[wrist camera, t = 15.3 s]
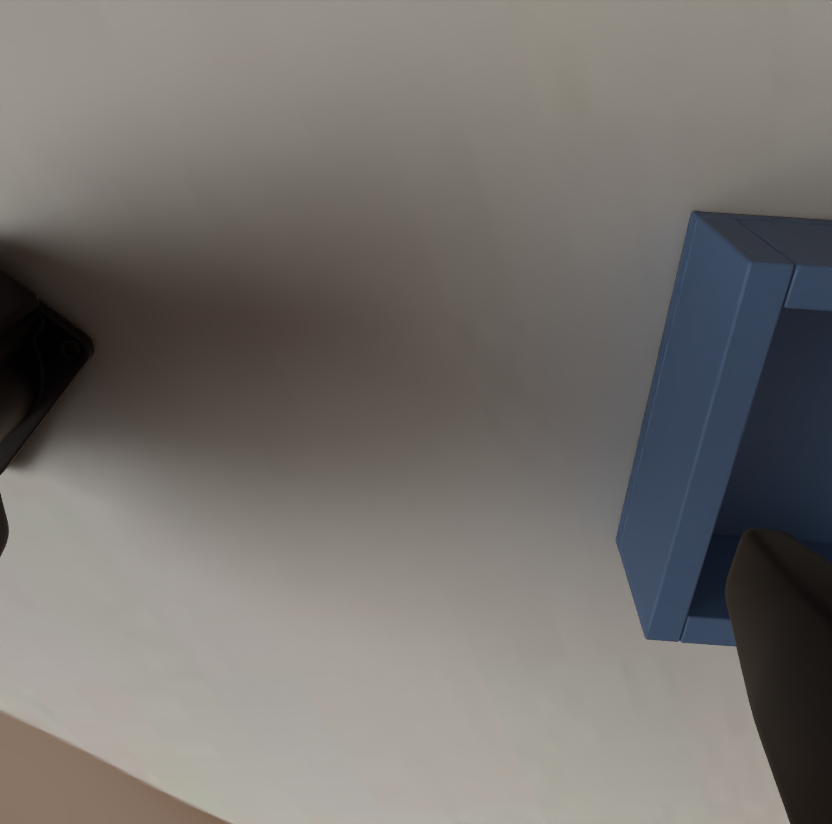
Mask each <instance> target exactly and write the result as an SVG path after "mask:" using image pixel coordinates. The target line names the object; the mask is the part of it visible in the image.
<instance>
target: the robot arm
mask: <svg viewBox="0 0 832 824" xmlns="http://www.w3.org/2000/svg"><path fill="white" fill-rule="evenodd" d="M69 343H73V344H76V345H77V346H78V347H79V348H80V352H81V353H77V352H74V351H73V350H72V349H71V348H70V345H69ZM93 353H94V344H93V342H92V340H91V338H90V337H89V336H88V335H87V334H86V333H84V332H83V331H82V330H80V329H79V328H77V327H76V326H75V325H73V324H72V323H71V322H69V321H68V320H67V319H65V318H64V317H62V316H61V315H60V314H58V313H57V312H56V311H54V310H53V309H52V308H50V307H49V306H47V305H46V304H45V303H43V302H42V301H41V300H39V299H38V298H37V296H36V295H35V294H34V293H33V292H32V291H30V290H29V289H28V288H26V287H25V286H24V285H22V284H21V283H19V282H18V281H17V280H15V279H14V278H13V277H11V276H10V275H9V274H7V273H6V272H5V271H3V270H2V269H0V475H1V474H2V473H3V472H4V471H5V470H6V469H7V468H8V467H9V465H10V464H11V463H12V461H13V460H14V459H15V457H16V456H17V455H18V453H19V452H20V451H21V449H22V448H23V447H24V445H25V444H26V443H27V441H28V440H29V439H30V437H31V436H32V435H33V434H34V432H35V431H36V430H37V428H38V427H39V426H40V424H41V423H42V422H43V420H44V419H45V418H46V416H47V415H48V414H49V412H50V411H51V410H52V408H53V407H54V406H55V405H56V403H57V402H58V401H59V399H60V398H61V397H62V395H63V394H64V393H65V391H66V390H67V389H68V387H69V386H70V385H71V383H72V382H73V381H74V379H75V378H76V377H77V375H78V374H79V373H80V372H81V370H82V369H83V368H84V366H85V365H86V364H87V362H88V361H89V360H90V358H91V357H92V356H93ZM8 534H9V527H8V521H7V517H6V514H5V510H4V506H3V502H2V498H1V494H0V556H1V554H2V552H3V550H4V548H5V546H6V543H7V540H8ZM725 597H726V603H727V608H728V612H729V616H730V621H731V625H732V629H733V634H734V638H735V642H736V647H737V651H738V655H739V660H740V664H741V668H742V673H743V677H744V682H745V686H746V690H747V695H748V699H749V703H750V706H751V710H752V714H753V718H754V721H755V724H756V727H757V730H758V733H759V736H760V739H761V742H762V745H763V748H764V751H765V753H766V756H767V759H768V762H769V765H770V768H771V770H772V773H773V776H774V779H775V782H776V785H777V787H778V790H779V793H780V796H781V799H782V802H783V804H784V807H785V810H786V813H787V816H788V818H789V821H790V824H832V562H830V561H829V560H827V559H826V558H824V557H823V556H821V555H820V554H818V553H817V552H815V551H814V550H812V549H811V548H809V547H808V546H806V545H805V544H803V543H802V542H800V541H799V540H797V539H796V538H794V537H793V536H791V535H790V534H788V533H787V532H785V531H782V530H776V529H762V528H750V529H748V530H746V531H745V532H744V533H743V535H742V536H741V539H740V541H739V544H738V547H737V550H736V553H735V556H734V559H733V562H732V565H731V568H730V571H729V574H728V577H727V581H726V587H725Z"/></svg>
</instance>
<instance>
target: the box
mask: <svg viewBox="0 0 832 824" xmlns="http://www.w3.org/2000/svg"><path fill="white" fill-rule="evenodd" d="M750 528H762V529H776V530H782V531H785V532H787V533H788V534H790V535H791V536H793V537H794V538H796V539H797V540H799V541H800V542H802V543H803V544H805V545H806V546H808V547H809V548H811V549H812V550H814V551H815V552H817V553H818V554H820V555H821V556H823V557H824V558H826V559H827V560H829V561H830V562H832V220H818V219H803V218H788V217H773V216H758V215H743V214H728V213H713V212H698V211H693V212H692V213H691V216H690V220H689V224H688V229H687V233H686V237H685V242H684V246H683V250H682V255H681V259H680V263H679V268H678V272H677V276H676V281H675V285H674V289H673V294H672V298H671V302H670V307H669V311H668V315H667V320H666V324H665V328H664V333H663V337H662V341H661V346H660V350H659V354H658V359H657V363H656V367H655V372H654V376H653V380H652V385H651V389H650V393H649V398H648V402H647V406H646V411H645V415H644V419H643V424H642V428H641V432H640V437H639V441H638V445H637V450H636V454H635V458H634V462H633V467H632V471H631V475H630V480H629V484H628V488H627V493H626V497H625V501H624V506H623V510H622V514H621V519H620V523H619V527H618V532H617V536H616V543H617V547H618V550H619V552H620V556H621V559H622V562H623V566H624V569H625V572H626V576H627V579H628V582H629V586H630V589H631V592H632V596H633V599H634V602H635V606H636V609H637V613H638V616H639V619H640V623H641V626H642V629H643V633H644V636H645V638H646V639H648V640H661V641H674V642H678V641H681V642H682V643H696V644H709V645H722V646H735V647H736V642H735V638H734V634H733V629H732V625H731V621H730V616H729V612H728V608H727V603H726V597H725V587H726V581H727V577H728V574H729V571H730V568H731V565H732V562H733V559H734V556H735V553H736V550H737V547H738V544H739V541H740V539H741V536H742V535H743V533H744V532H745V531H746V530H748V529H750Z"/></svg>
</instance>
